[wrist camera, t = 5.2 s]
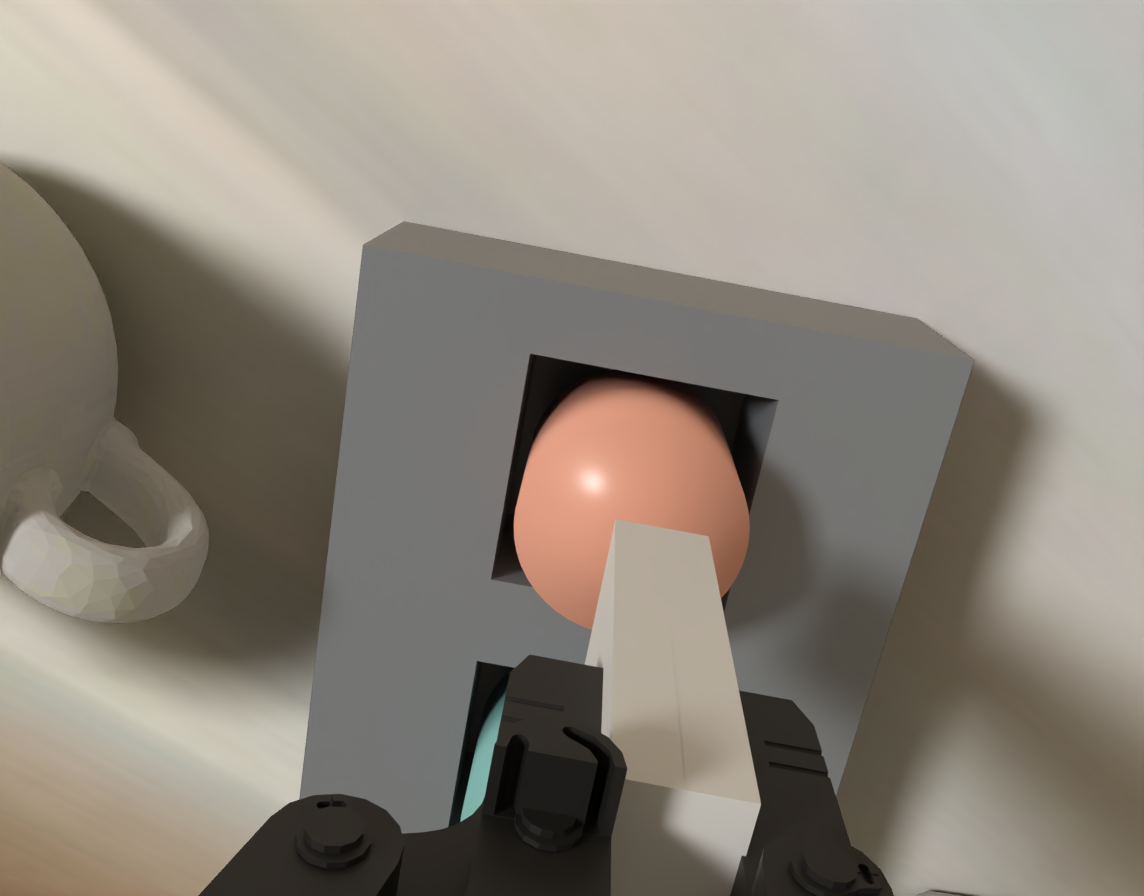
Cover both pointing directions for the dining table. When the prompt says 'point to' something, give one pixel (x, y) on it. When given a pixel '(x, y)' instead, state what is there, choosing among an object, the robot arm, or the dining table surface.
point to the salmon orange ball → (623, 484)
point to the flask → (936, 894)
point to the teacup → (76, 437)
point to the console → (497, 464)
